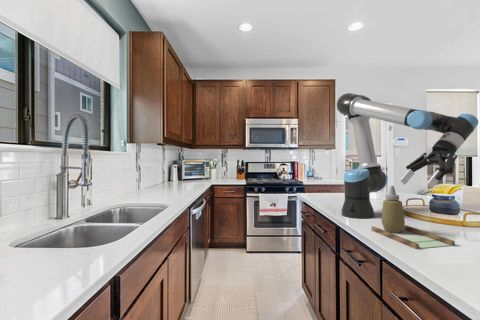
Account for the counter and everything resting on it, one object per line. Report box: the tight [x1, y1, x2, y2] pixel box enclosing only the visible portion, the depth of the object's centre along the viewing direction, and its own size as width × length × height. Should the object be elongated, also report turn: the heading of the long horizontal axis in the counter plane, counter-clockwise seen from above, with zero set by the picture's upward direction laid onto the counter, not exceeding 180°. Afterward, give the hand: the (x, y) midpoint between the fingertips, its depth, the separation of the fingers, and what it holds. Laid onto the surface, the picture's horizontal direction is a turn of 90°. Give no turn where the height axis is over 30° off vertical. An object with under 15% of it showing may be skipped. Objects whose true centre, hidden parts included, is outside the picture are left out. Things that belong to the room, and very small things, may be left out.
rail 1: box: [371, 226, 420, 250], centre depth 94 cm, size 22×1×2 cm, turn 8°
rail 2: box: [403, 224, 456, 247], centre depth 96 cm, size 22×1×2 cm, turn 8°
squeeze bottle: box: [381, 185, 406, 234], centre depth 103 cm, size 8×8×18 cm
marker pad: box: [404, 235, 451, 249], centre depth 89 cm, size 10×11×1 cm
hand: (415, 183), depth 104 cm, fingers open, 13 cm apart
